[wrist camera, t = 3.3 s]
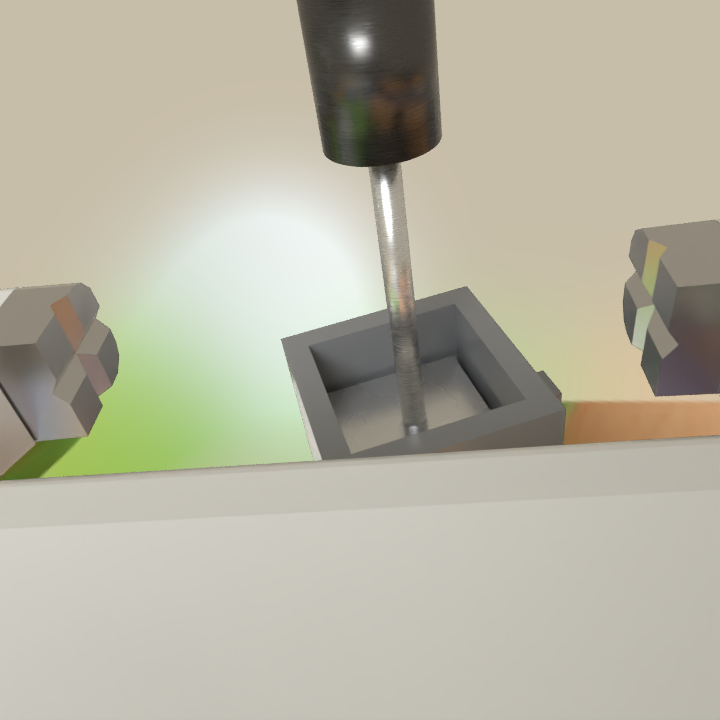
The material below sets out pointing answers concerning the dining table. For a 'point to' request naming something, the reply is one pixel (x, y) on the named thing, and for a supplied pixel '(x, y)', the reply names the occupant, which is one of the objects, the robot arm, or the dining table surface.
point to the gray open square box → (436, 341)
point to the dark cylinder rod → (385, 191)
